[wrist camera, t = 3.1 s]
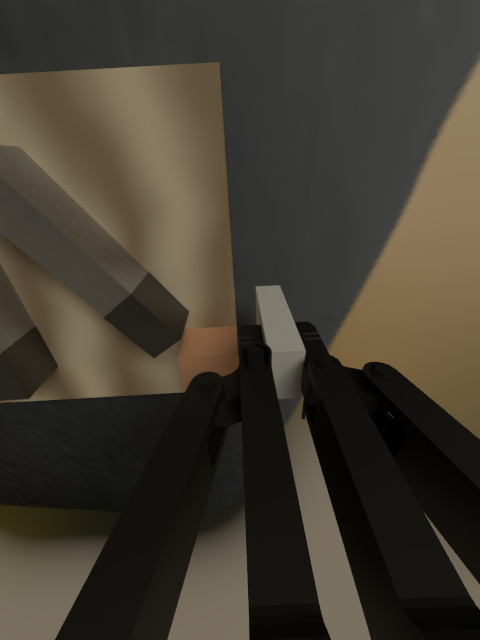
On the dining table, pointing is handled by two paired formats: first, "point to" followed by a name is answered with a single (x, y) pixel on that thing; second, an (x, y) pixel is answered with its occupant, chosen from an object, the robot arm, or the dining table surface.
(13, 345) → the tongs fixed
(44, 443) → the dining table surface
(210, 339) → the orange block
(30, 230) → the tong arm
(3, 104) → the board
